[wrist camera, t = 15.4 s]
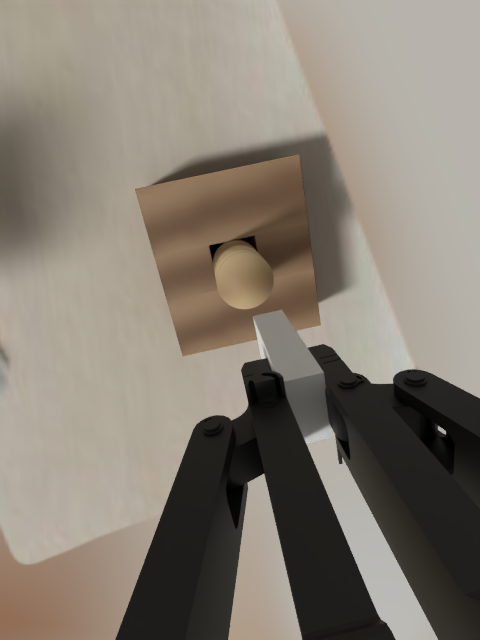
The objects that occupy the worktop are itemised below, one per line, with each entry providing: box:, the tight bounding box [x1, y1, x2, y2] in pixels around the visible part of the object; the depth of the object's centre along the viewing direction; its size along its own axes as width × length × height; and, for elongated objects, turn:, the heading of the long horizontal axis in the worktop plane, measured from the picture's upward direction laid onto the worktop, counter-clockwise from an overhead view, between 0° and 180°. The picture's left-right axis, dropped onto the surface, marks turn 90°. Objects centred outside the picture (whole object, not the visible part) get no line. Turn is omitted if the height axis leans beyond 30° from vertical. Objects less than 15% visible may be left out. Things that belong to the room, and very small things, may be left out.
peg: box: [213, 240, 274, 309], centre depth 36 cm, size 5×5×14 cm
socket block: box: [135, 154, 321, 356], centre depth 40 cm, size 18×16×6 cm
